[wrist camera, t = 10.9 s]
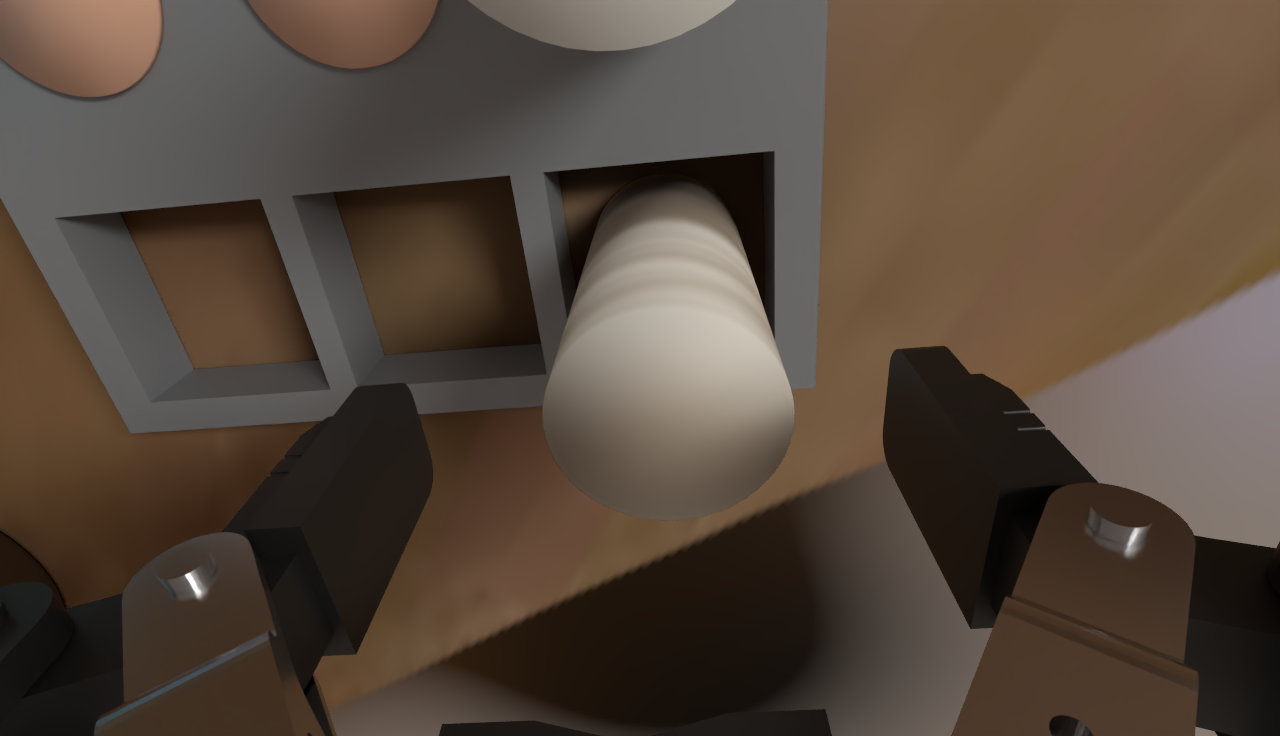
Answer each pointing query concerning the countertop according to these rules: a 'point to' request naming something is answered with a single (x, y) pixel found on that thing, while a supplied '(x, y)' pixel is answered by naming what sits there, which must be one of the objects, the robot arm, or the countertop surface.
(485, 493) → the countertop surface
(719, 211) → the peg
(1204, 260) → the countertop surface
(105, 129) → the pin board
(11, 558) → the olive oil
